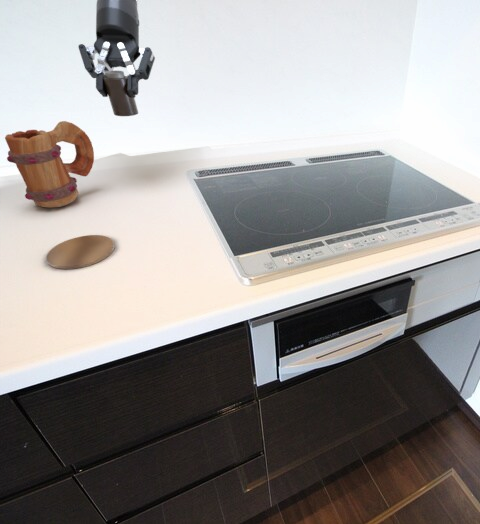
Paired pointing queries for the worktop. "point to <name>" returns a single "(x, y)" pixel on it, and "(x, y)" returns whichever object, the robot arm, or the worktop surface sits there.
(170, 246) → the worktop surface
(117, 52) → the robot arm
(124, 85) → the pepper mill
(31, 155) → the mug
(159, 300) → the worktop surface
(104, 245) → the coaster
